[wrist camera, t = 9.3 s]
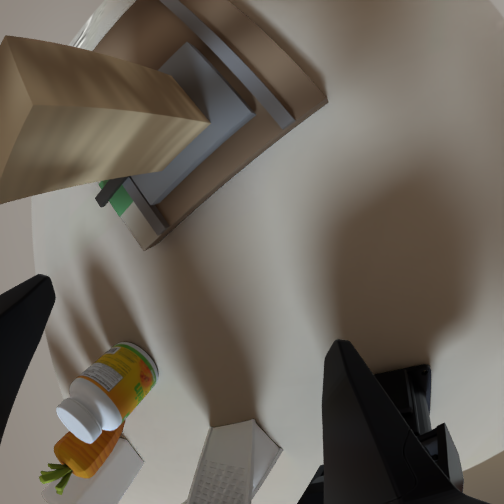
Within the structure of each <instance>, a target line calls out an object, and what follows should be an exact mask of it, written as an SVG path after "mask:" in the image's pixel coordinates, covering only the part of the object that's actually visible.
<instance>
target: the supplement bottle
mask: <svg viewBox="0 0 504 504" xmlns="http://www.w3.org/2000/svg"><path fill="white" fill-rule="evenodd" d="M157 380H158V371H157V368H156V366H155V364H154V362H153V360H152V359H151V358H150V356H149V355H148V354H147V353H146V352H145V351H144V350H142V349H141V348H140V347H138V346H136V345H134V344H132V343H129V342H120V343H118V344H116V345H115V346H113V347H112V348H111V349H110V350H109V351H107V352H106V353H105V354H104V355H103V356H102V357H100V358H99V359H98V360H97V361H96V362H95V363H94V364H92V365H91V366H90V367H89V368H88V369H87V370H85V371H84V372H83V373H82V374H81V375H79V376H78V377H77V378H76V379H75V380H74V381H73V382H72V383H71V385H70V389H69V394H70V398H67V399H65V400H63V402H62V403H61V404H60V405H58V406H57V408H56V411H57V415H58V417H59V418H60V420H61V421H62V423H63V424H64V425H65V426H66V427H67V429H68V430H69V431H70V432H71V433H73V434H74V435H75V436H76V437H77V438H79V439H80V440H82V441H84V442H86V443H89V444H91V443H93V442H94V441H95V440H96V439H97V438H98V437H99V436H100V434H101V433H102V429H103V430H106V431H112V430H115V429H117V428H118V427H119V426H120V425H121V424H122V422H123V421H124V420H125V419H126V418H127V417H128V415H129V414H130V413H131V412H132V411H133V410H134V409H135V407H136V406H137V405H138V404H139V403H140V402H141V400H142V399H143V398H144V397H145V396H146V395H147V394H148V392H149V391H150V390H151V389H152V388H153V387H154V385H155V384H156V383H157Z"/></svg>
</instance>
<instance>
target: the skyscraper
mask: <svg viewBox="0 0 504 504" xmlns="http://www.w3.org/2000/svg"><path fill="white" fill-rule="evenodd" d="M282 451H283V449H282V448H279V447H278V446H277V445H276V444H275V443H274V442H273V441H272V440H271V439H270V438H269V437H268V436H267V435H266V434H265V433H264V431H263V430H262V429H261V428H260V427H259V426H258V425H257V424H256V423H255V420H254V419H251V420H249V421H244V422H240V423H235V424H230V425H225V426H220V427H215V428H213V427H210V428H209V431H208V434H207V437H206V440H205V443H204V446H203V449H202V453H201V456H200V459H199V462H198V465H197V469H196V472H195V475H194V478H193V482H192V485H191V489H190V492H189V495H188V499H187V500H186V501H185V502H183V503H182V504H251V500H252V499H253V497H254V496H255V494H256V493H257V491H258V490H259V488H260V487H261V485H262V484H263V482H264V481H265V479H266V477H267V476H268V474H269V473H270V471H271V469H272V468H273V466H274V465H275V463H276V461H277V460H278V458H279V456H280V455H281V453H282Z"/></svg>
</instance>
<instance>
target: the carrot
mask: <svg viewBox="0 0 504 504" xmlns="http://www.w3.org/2000/svg"><path fill="white" fill-rule="evenodd" d="M125 420H126V419H125ZM125 420H124V421H123V422H122V424H121V425H120V426H119V427H118V428H117V429H115V430H112V431H106V430H103V429H102V433H101V434H100V436H99V437H98V438H97V439H96V440H95V441H94V442H93V443H91V444H89V443H86V442H84V441H82V440H80V439H79V438H77V437H76V436H75V435H74V434H73V433H71V432H70V431H69V432H68V433H67V434H66V435H65V436H64V437H63V438H62V439H60V440H59V441H58V442H57V443H56V444H55V446H54V453H55V455H56V457H57V458H58V460H59V461H60V463H61V464H62V465H61V464H48V467H50V468H51V469H57V470H55V471H49V472H45V471H41V474H42V475H41V476H40V477H39V478H40V481H41V482H42V483H43V484H45V483H49V482H52V481H55V480H58V479H60V478H61V477H62V479H61V481H60V482H59V483H58V484H57V485H56V486H55V489H56V493H57V494H59V495H62V493H63V490H64V488H65V486H66V485H67V483H68V481H69V478H70V476H71V474H72V473H73V474H74V475H75V476H77V477H81V478H91V477H93V476H94V475H95V473H96V472H97V471H98V470H99V468H100V467H101V466H102V465H103V463H104V462H105V461H106V459H107V458H108V456H109V455H110V454H111V452H112V451H113V449H114V447H115V445H116V443H117V441H118V439H119V437H120V435H121V433H122V431H123V427H124V424H125Z"/></svg>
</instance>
